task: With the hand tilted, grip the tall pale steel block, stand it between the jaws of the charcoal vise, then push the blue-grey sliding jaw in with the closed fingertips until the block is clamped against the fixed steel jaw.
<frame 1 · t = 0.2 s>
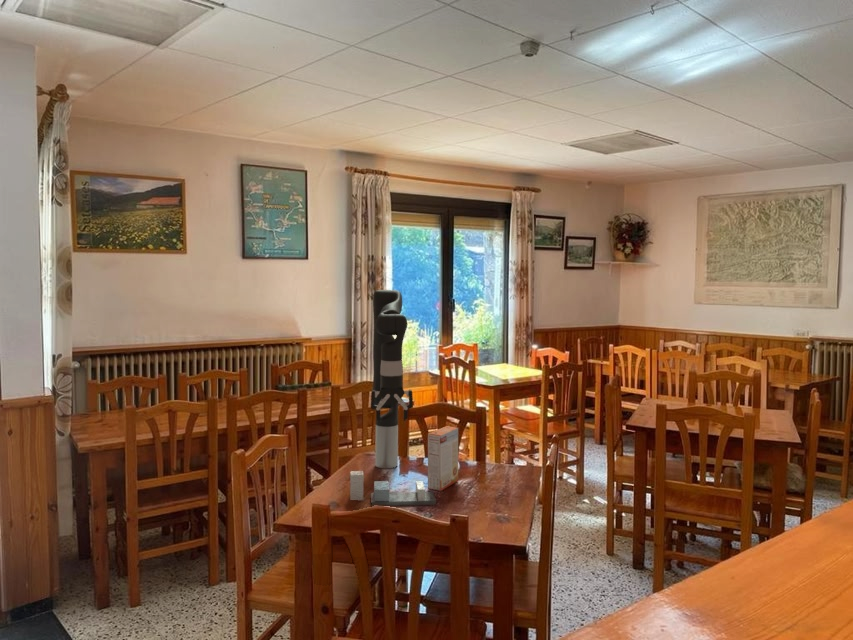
hand: (392, 420, 214), 29 cm above the table, tool pointing down, fingers open, 8 cm apart
sliding jaw: (381, 491, 218), point 4 cm above the table, slide at 0.0 cm
vise bed: (403, 501, 219), on the table
steel block: (356, 498, 222), on the table
cracker box: (442, 485, 237), on the table
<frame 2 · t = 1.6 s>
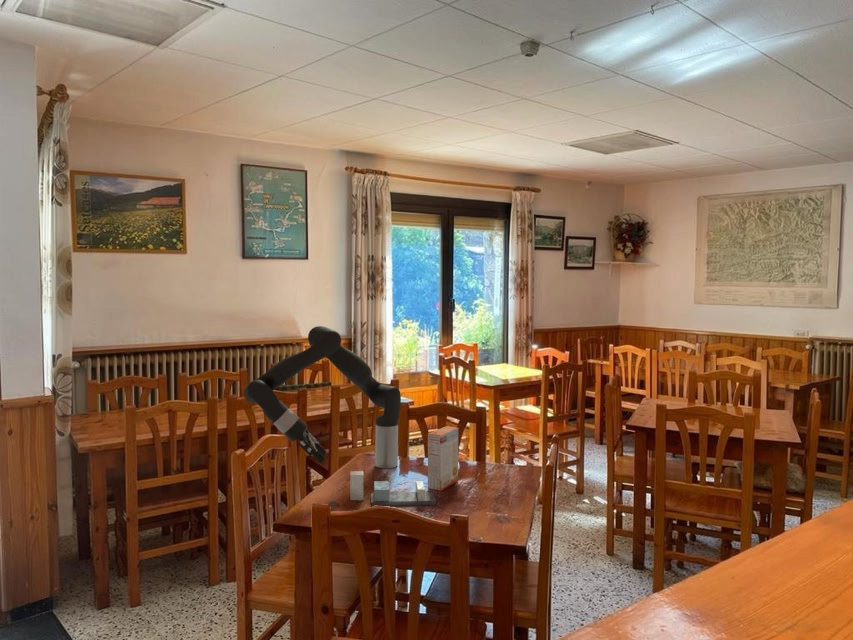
hand: (323, 457, 219), 15 cm above the table, tool tilted 45°, fingers open, 8 cm apart
nothing on the table moved.
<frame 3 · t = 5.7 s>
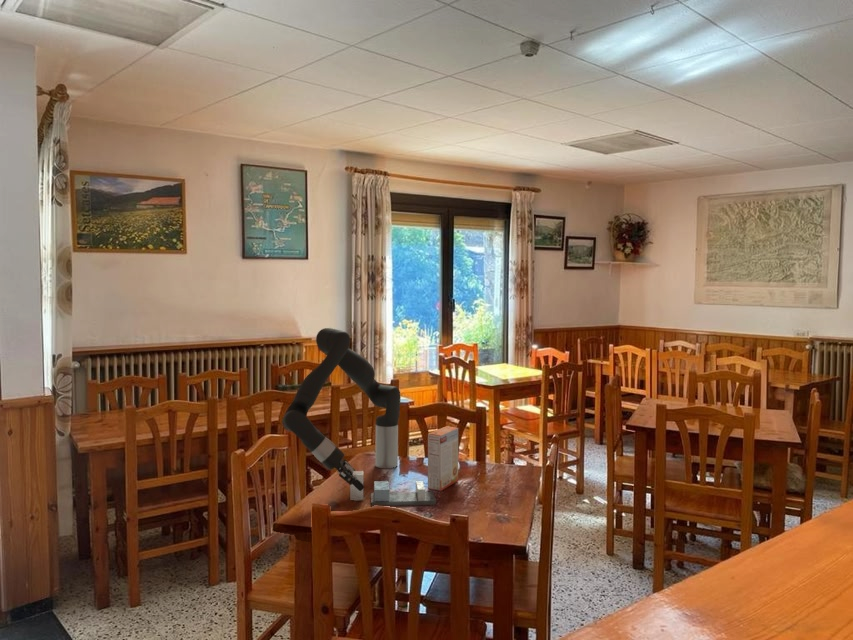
hand: (362, 486, 222), 4 cm above the table, tool tilted 45°, fingers closed on steel block, 4 cm apart
steel block: (356, 498, 222), on the table, touching gripper
everything else where it was.
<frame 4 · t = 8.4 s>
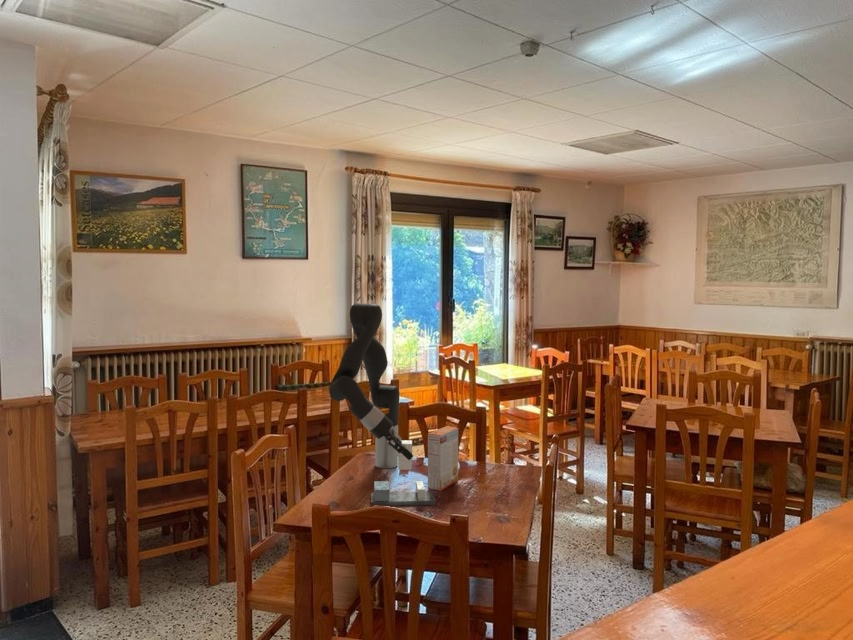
hand: (410, 455, 219), 16 cm above the table, tool tilted 45°, fingers closed on steel block, 4 cm apart
steel block: (404, 467, 219), point 12 cm above the table, touching gripper
everything else where it was.
when the fingers open (6 cm above the table, at t = 11.2 s): steel block stays where it is, resting on vise bed.
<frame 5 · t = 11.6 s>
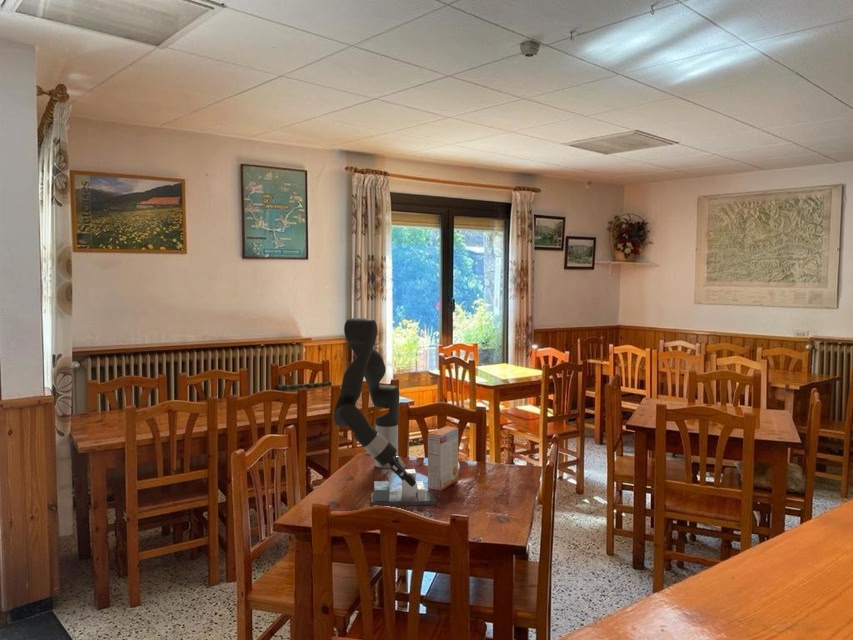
hand: (413, 480, 219), 7 cm above the table, tool tilted 45°, fingers open, 8 cm apart
steel block: (408, 496, 220), point 1 cm above the table, touching vise bed
everything else where it was.
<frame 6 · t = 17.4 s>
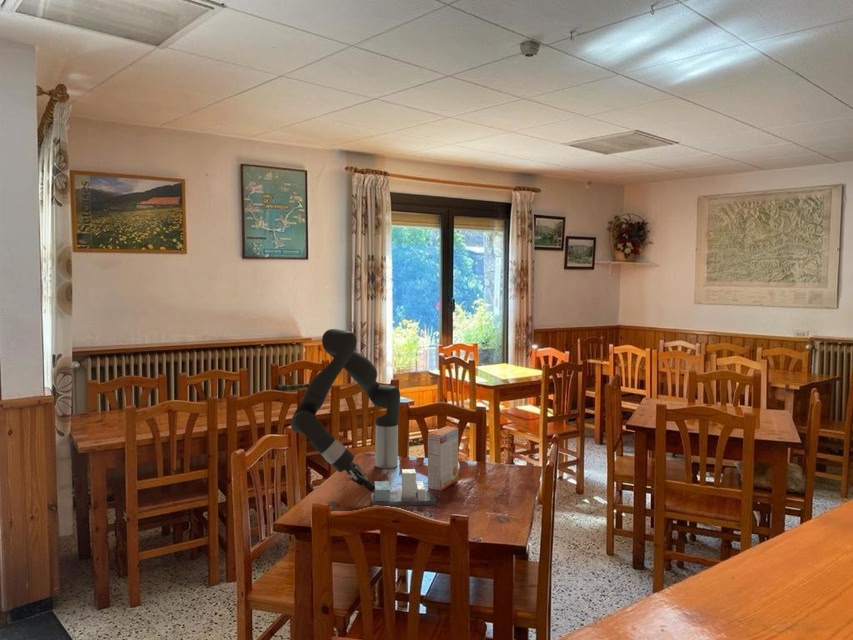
hand: (373, 489, 218), 4 cm above the table, tool tilted 45°, fingers closed
sliding jaw: (382, 491, 218), point 4 cm above the table, slide at 0.2 cm, touching gripper
everything else where it was.
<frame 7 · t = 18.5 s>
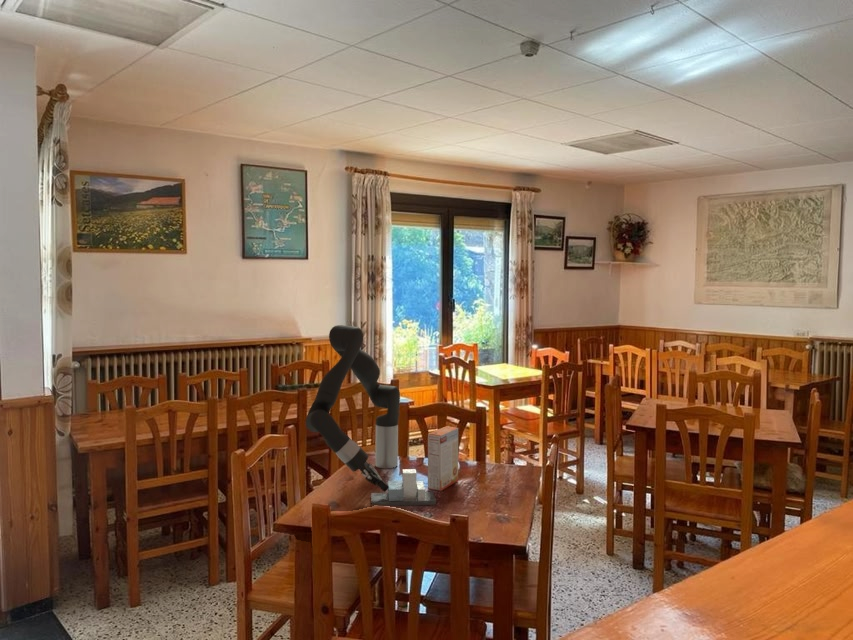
hand: (386, 489, 219), 4 cm above the table, tool tilted 45°, fingers closed
sliding jaw: (395, 490, 219), point 4 cm above the table, slide at 4.8 cm, touching gripper
steel block: (409, 496, 220), point 2 cm above the table
everything else where it was.
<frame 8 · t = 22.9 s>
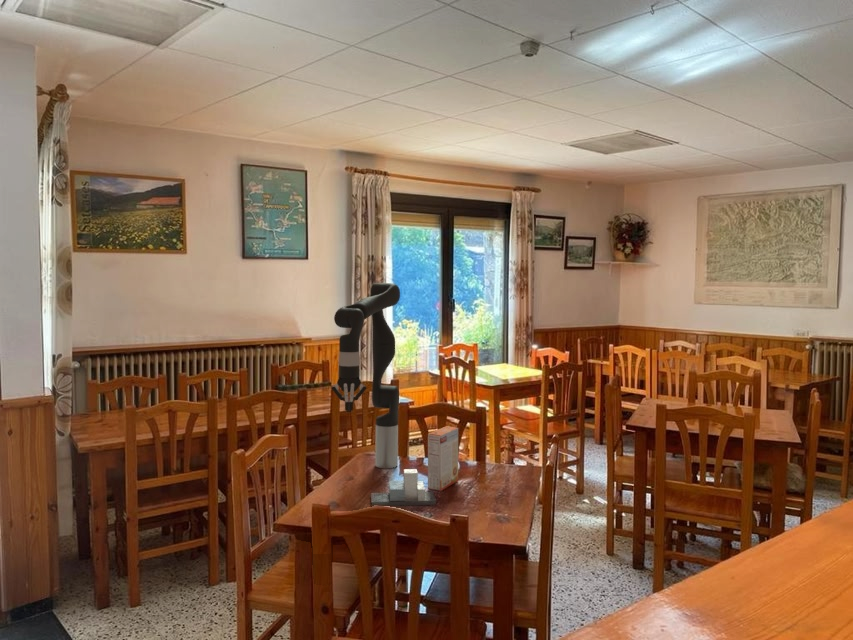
hand: (348, 411, 227), 29 cm above the table, tool pointing down, fingers closed
sliding jaw: (396, 490, 219), point 4 cm above the table, slide at 5.3 cm, touching steel block
steel block: (410, 496, 220), point 1 cm above the table, touching sliding jaw, vise bed
everything else where it was.
at the end: steel block inside the target area (0.0 cm from its centre), point 1.5 cm above the table; steel block tilted 0°; sliding jaw slide at 5.3 cm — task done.
